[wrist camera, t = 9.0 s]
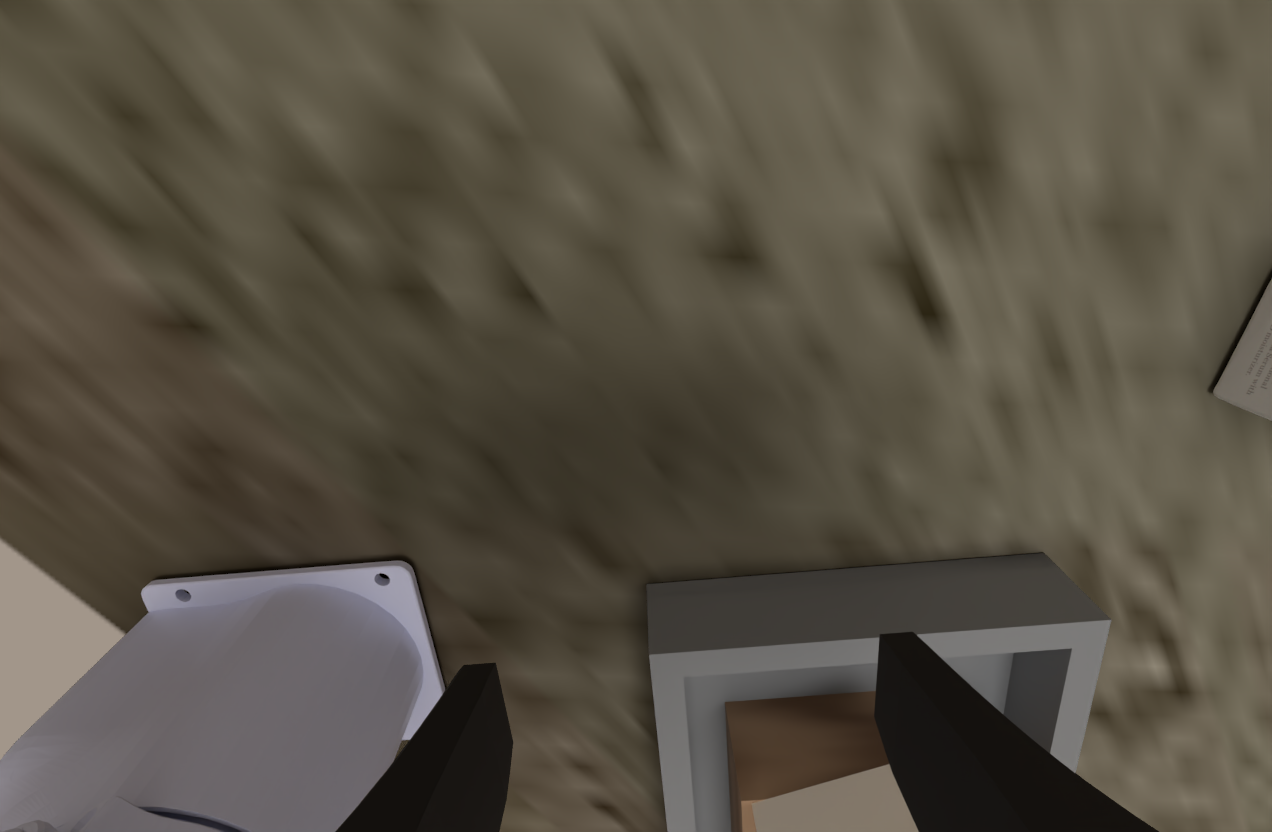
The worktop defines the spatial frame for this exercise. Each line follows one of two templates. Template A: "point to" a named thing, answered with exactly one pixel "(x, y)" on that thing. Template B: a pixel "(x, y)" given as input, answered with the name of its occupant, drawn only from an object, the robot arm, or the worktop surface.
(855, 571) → the tote
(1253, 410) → the skincare box
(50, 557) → the worktop surface
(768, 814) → the cream lidded carton
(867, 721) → the walnut block
